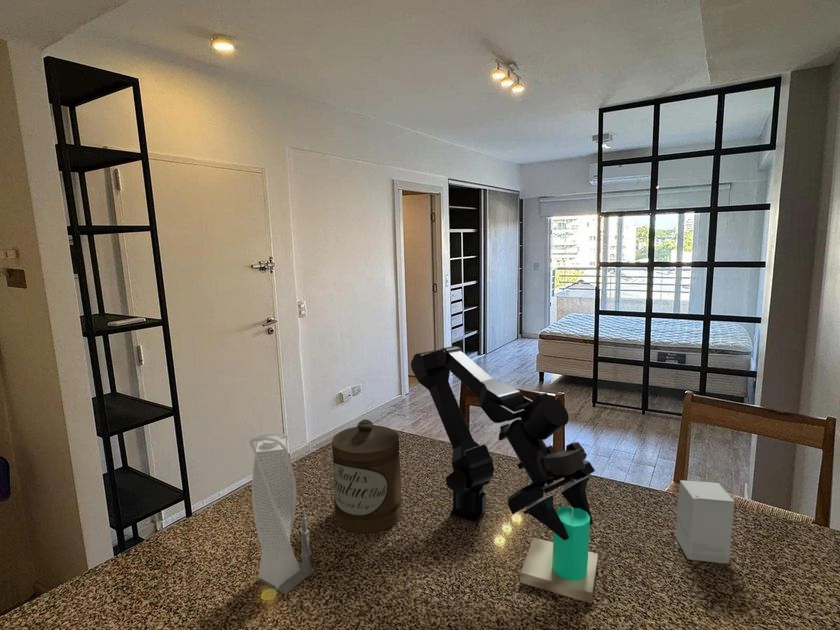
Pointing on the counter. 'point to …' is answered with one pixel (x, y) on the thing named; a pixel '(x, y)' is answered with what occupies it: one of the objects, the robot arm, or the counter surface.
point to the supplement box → (704, 521)
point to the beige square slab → (544, 577)
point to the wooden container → (367, 478)
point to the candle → (572, 544)
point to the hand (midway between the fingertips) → (579, 531)
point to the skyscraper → (277, 515)
